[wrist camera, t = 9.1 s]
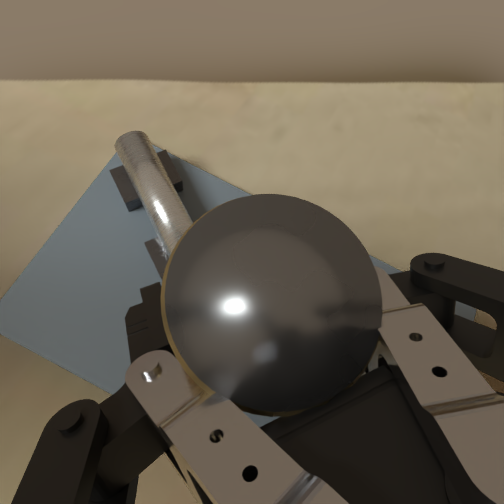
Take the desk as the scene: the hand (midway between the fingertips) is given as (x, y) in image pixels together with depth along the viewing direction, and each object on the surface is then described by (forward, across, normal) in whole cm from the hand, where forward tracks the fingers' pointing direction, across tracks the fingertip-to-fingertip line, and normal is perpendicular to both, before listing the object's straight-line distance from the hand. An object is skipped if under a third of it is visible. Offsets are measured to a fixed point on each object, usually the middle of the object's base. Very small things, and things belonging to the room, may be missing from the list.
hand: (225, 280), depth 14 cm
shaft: (+11, +1, +2) cm, 11 cm away
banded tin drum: (+2, 0, +4) cm, 5 cm away
